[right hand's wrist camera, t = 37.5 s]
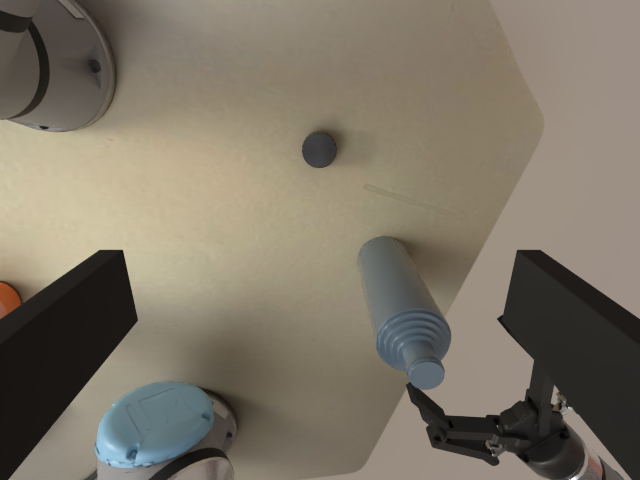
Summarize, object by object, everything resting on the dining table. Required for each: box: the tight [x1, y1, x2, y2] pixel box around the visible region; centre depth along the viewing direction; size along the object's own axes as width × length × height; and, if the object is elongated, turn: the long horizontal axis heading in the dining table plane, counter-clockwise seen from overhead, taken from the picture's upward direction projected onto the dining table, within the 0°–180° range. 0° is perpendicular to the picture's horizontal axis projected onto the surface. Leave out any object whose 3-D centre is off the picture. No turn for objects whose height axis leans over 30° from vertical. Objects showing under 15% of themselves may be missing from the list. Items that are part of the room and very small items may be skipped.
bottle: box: [357, 237, 451, 390], centre depth 41 cm, size 7×7×23 cm
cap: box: [302, 131, 337, 168], centre depth 45 cm, size 4×4×2 cm
